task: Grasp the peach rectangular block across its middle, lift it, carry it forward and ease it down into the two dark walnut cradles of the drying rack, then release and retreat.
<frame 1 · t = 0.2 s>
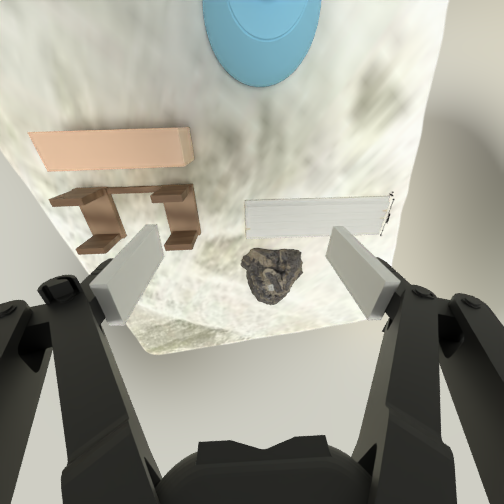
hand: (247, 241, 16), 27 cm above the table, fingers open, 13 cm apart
baseboard: (314, 213, 45), on the table
sugar bowl: (259, 22, 29), on the table
rack: (143, 212, 42), on the table
dark grey rock: (275, 273, 53), on the table
peach rectangular block: (134, 145, 36), on the table
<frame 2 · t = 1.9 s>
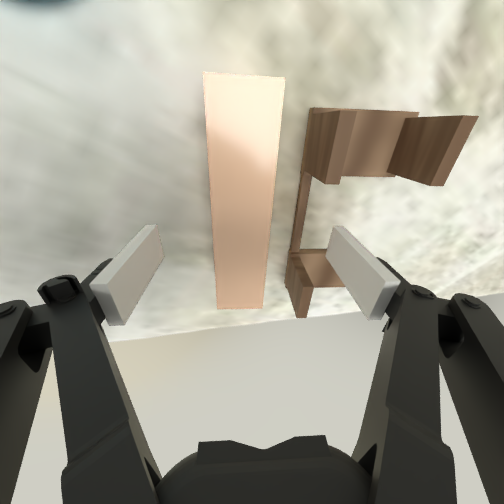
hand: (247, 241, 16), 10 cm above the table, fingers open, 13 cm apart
rack: (334, 215, 26), on the table
peach rectangular block: (240, 198, 24), on the table
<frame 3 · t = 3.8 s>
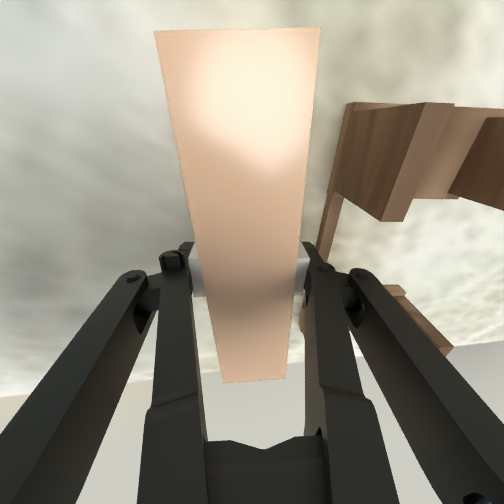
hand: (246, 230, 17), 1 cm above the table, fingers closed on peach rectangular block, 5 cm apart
rack: (368, 245, 20), on the table
peach rectangular block: (245, 226, 18), on the table, touching gripper
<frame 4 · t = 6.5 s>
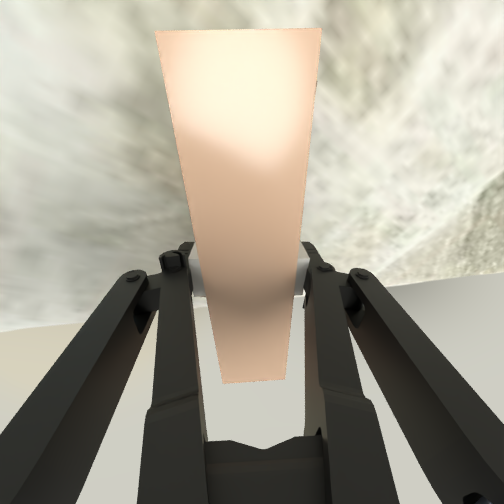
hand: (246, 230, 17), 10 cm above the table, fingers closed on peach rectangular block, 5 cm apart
peach rectangular block: (246, 226, 18), point 9 cm above the table, touching gripper
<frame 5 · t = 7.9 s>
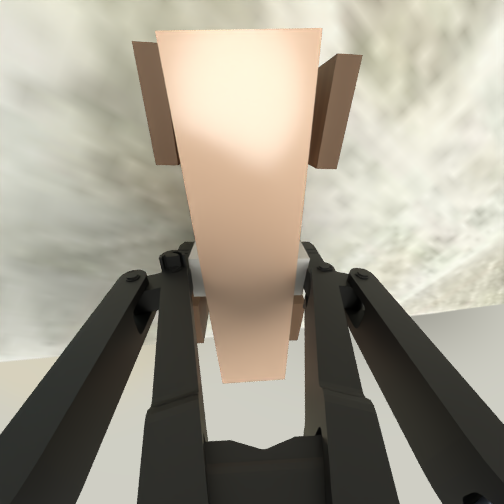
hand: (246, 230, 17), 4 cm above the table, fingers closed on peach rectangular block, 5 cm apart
rack: (244, 213, 21), on the table
peach rectangular block: (245, 226, 18), point 3 cm above the table, touching gripper
when the fingers open (3 cm above the table, at t = 9.1 s): peach rectangular block drops 1 cm, resting on rack.
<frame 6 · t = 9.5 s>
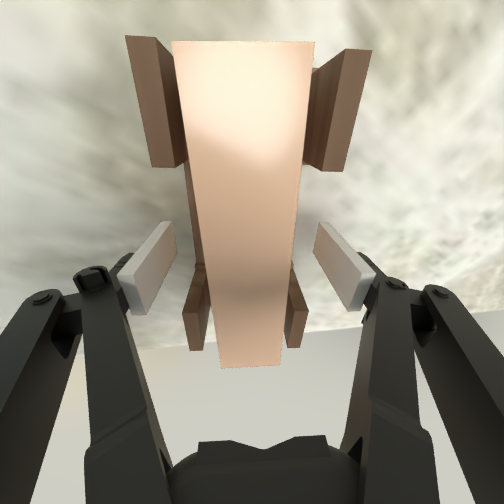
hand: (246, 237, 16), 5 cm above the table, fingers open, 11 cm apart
rack: (245, 216, 20), on the table
peach rectangular block: (245, 220, 19), point 1 cm above the table, touching rack
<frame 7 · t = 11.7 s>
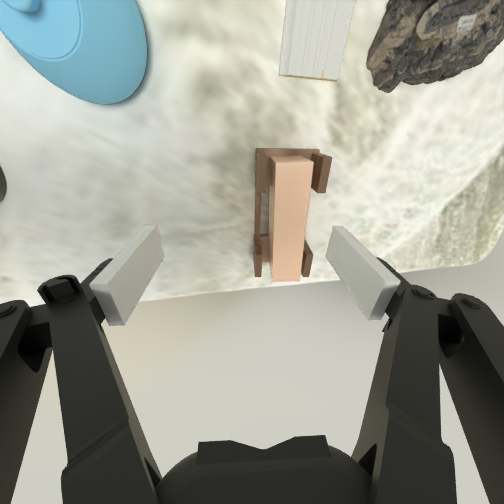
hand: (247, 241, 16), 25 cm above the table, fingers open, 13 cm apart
sugar bowl: (95, 37, 28), on the table
rack: (281, 211, 40), on the table
dark grey rock: (437, 15, 28), on the table
peach rectangular block: (282, 213, 39), point 1 cm above the table, touching rack
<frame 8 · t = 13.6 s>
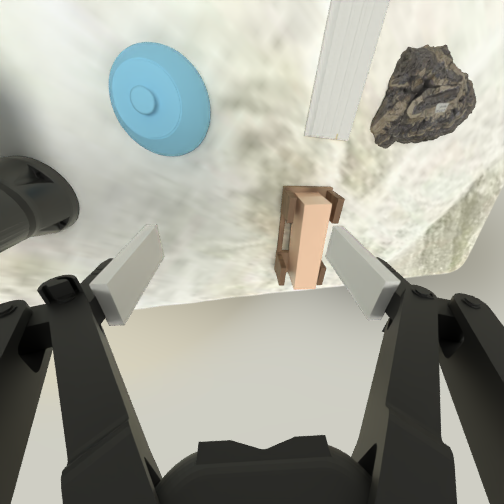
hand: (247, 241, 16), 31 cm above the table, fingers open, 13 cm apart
baseboard: (346, 29, 33), on the table
sugar bowl: (168, 107, 36), on the table
rack: (299, 232, 50), on the table
dark grey rock: (422, 97, 38), on the table
peach rectangular block: (300, 234, 49), point 1 cm above the table, touching rack
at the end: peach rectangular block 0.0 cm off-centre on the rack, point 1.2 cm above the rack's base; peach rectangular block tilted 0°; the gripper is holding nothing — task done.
